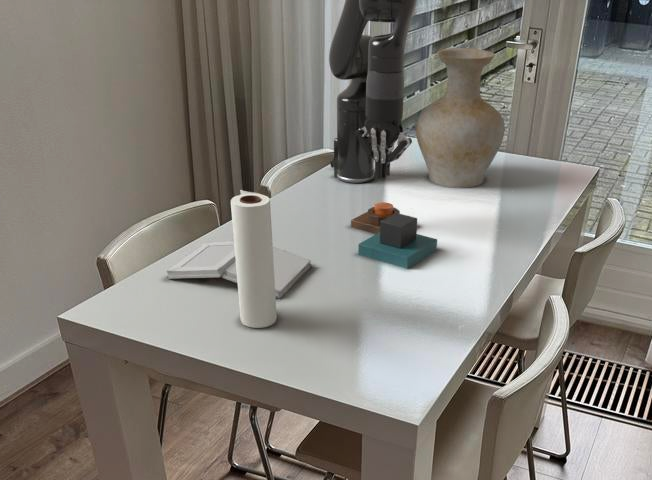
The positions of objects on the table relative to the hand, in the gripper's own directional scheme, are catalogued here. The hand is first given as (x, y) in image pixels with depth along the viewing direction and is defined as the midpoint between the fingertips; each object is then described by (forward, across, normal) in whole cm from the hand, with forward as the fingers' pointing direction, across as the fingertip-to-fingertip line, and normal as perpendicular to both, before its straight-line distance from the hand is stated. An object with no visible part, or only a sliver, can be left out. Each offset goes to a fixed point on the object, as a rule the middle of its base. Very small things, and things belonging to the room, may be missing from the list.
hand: (381, 178), depth 162 cm
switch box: (+11, -1, 0) cm, 11 cm away
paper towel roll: (+11, -7, +48) cm, 49 cm away
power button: (+7, -1, 0) cm, 8 cm away
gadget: (+11, +8, +36) cm, 38 cm away
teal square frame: (+10, -11, +10) cm, 18 cm away
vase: (+11, +3, -39) cm, 41 cm away
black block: (+10, -11, +10) cm, 18 cm away
